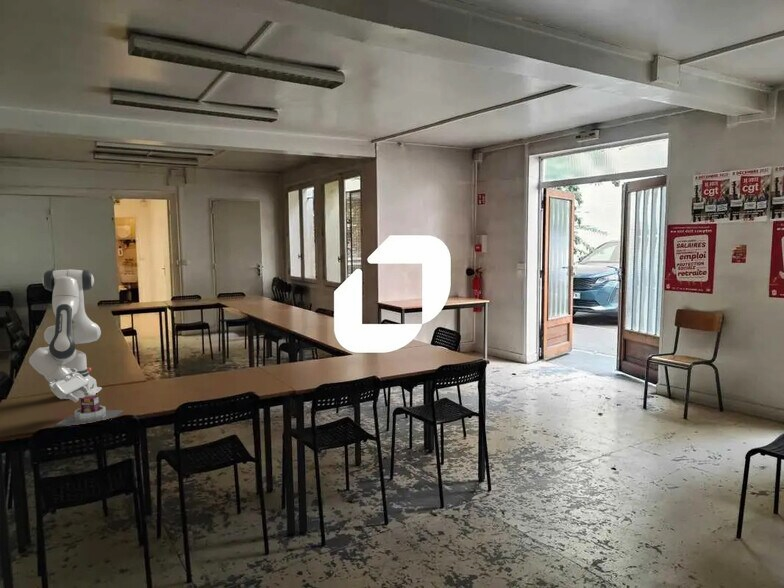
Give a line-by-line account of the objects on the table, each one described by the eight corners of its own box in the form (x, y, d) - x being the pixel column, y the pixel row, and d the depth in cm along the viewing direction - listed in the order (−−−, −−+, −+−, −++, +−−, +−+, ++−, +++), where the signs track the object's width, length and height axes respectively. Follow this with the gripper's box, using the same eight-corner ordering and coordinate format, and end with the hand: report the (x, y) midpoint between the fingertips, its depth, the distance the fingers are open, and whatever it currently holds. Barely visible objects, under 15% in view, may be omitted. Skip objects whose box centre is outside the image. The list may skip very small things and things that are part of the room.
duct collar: (80, 412, 256) (79, 403, 256) (122, 412, 257) (122, 402, 256) (55, 426, 236) (55, 416, 236) (101, 425, 237) (101, 415, 236)
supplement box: (81, 418, 244) (80, 398, 243) (86, 415, 249) (85, 395, 248) (94, 418, 244) (93, 398, 243) (99, 415, 249) (99, 395, 248)
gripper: (51, 378, 234) (75, 399, 235) (77, 367, 254) (99, 387, 256) (41, 388, 234) (65, 409, 236) (67, 376, 255) (89, 396, 256)
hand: (83, 398), depth 246 cm, fingers open, 8 cm apart
